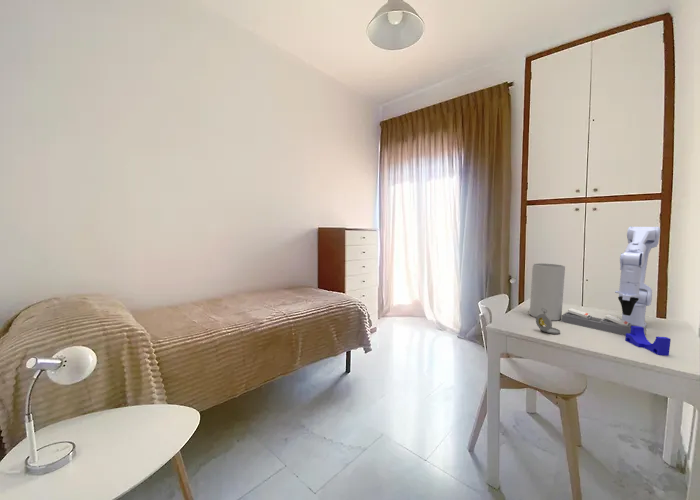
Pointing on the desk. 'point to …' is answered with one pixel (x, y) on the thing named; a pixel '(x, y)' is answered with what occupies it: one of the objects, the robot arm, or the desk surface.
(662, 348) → the cable clip
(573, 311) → the rocker outlet
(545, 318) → the pocket watch
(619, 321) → the rocker outlet
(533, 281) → the cylinder vase
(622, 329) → the power strip
